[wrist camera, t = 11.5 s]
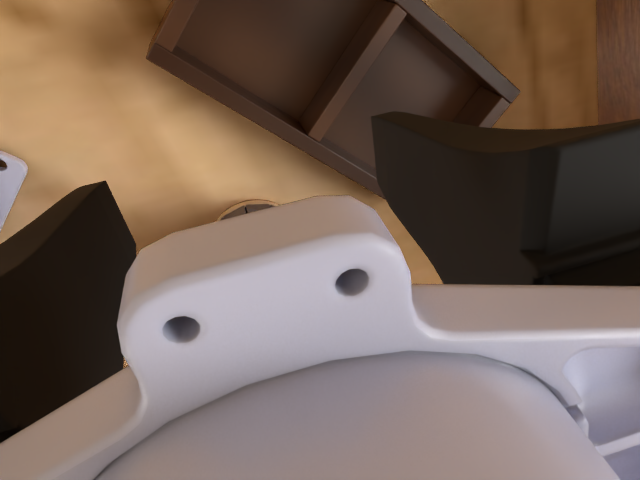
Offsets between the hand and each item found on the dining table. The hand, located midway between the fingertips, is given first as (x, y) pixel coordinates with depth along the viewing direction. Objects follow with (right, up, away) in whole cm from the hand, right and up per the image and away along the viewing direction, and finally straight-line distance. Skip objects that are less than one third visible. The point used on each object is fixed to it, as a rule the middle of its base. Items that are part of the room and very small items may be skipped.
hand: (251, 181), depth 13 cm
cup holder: (+3, +7, +9) cm, 12 cm away
